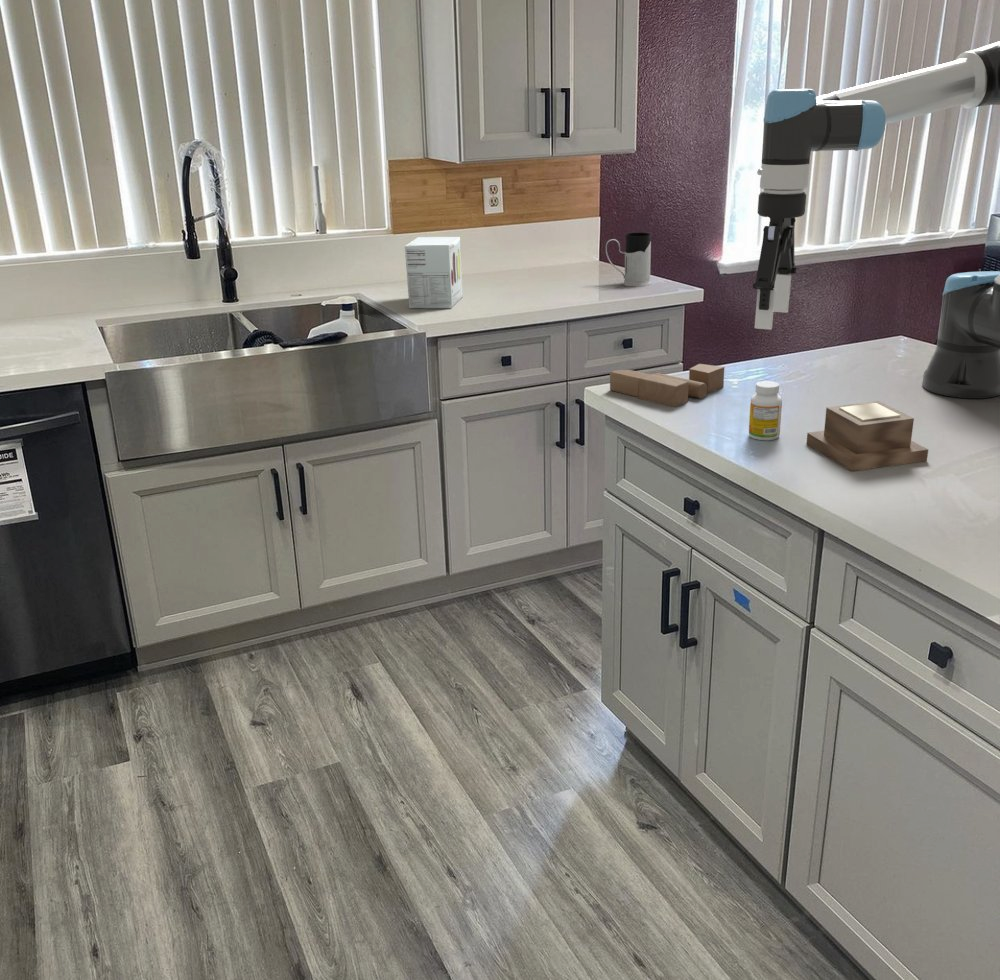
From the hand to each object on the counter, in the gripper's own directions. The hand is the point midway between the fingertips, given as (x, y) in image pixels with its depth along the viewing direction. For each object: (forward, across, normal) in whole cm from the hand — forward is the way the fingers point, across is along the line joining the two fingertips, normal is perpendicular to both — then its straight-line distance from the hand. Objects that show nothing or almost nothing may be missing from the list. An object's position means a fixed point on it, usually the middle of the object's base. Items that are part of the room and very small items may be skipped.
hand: (771, 320), depth 170 cm
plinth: (+21, +2, +18) cm, 27 cm away
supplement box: (+22, -84, -114) cm, 143 cm away
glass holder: (+21, -125, -68) cm, 144 cm away
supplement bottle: (+21, -1, 0) cm, 21 cm away
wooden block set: (+22, -22, -24) cm, 40 cm away
